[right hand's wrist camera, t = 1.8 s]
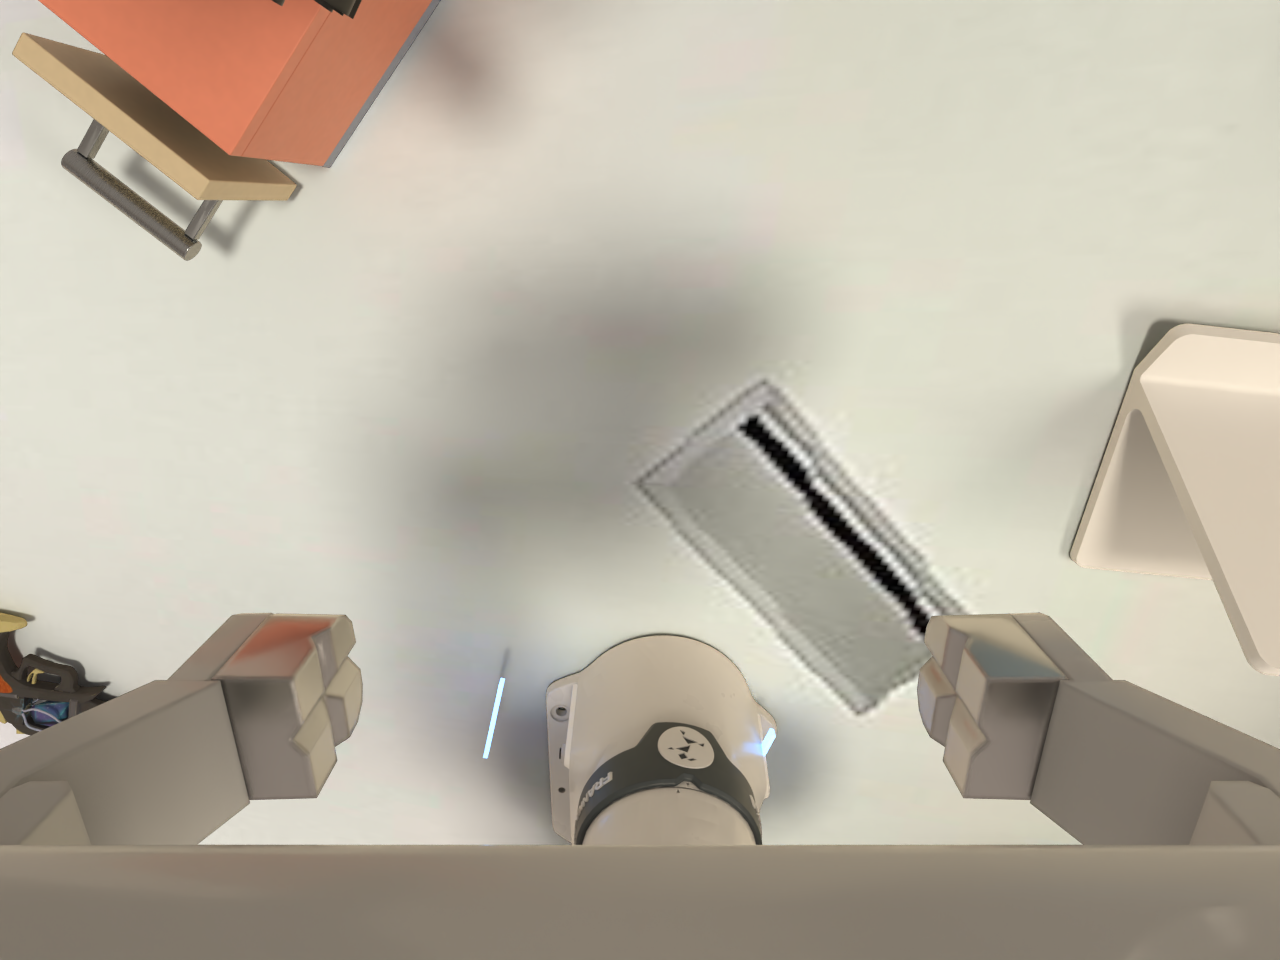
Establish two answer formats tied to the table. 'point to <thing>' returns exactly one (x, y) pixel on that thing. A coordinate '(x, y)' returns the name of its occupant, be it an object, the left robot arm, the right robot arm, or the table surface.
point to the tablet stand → (1198, 477)
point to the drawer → (146, 143)
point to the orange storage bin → (256, 65)
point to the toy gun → (38, 688)
